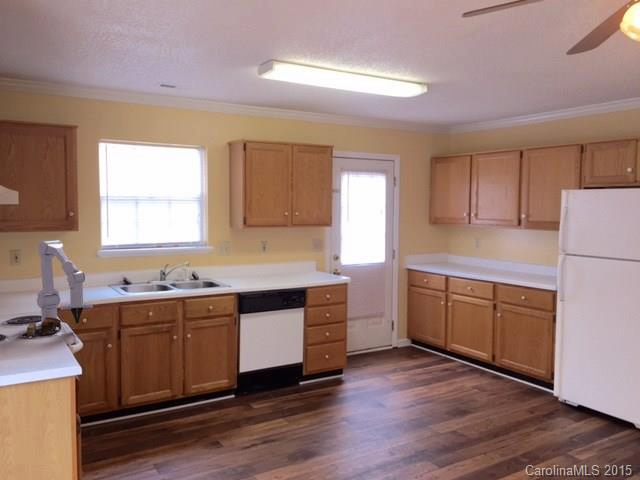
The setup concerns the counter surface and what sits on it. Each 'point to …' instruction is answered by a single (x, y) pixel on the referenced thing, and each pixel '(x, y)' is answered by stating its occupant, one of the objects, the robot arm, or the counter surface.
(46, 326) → the pottery mug
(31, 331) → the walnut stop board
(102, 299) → the counter surface
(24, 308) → the counter surface
